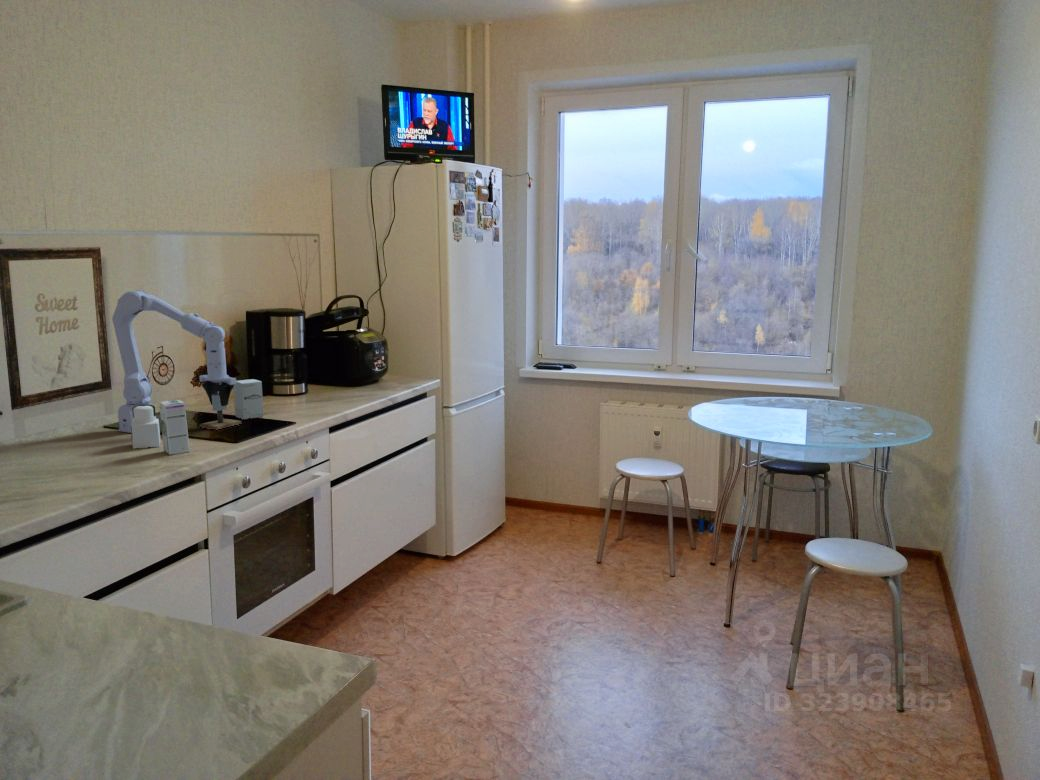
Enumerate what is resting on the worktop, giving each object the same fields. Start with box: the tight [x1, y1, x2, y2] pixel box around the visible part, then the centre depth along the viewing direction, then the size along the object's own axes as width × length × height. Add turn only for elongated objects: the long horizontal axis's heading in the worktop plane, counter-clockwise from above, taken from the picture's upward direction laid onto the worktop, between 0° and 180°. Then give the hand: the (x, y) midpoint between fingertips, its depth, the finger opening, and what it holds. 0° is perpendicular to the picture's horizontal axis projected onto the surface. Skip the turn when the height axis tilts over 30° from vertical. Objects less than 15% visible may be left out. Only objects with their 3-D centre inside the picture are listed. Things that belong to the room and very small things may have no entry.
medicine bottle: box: [130, 404, 161, 450], centre depth 227 cm, size 7×7×12 cm
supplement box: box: [232, 378, 264, 420], centre depth 266 cm, size 7×7×13 cm
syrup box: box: [158, 399, 190, 456], centre depth 220 cm, size 6×6×14 cm
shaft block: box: [199, 410, 242, 431], centre depth 253 cm, size 10×8×6 cm
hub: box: [211, 392, 228, 412], centre depth 252 cm, size 4×4×5 cm
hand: (219, 404), depth 252 cm, fingers closed on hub, 4 cm apart
